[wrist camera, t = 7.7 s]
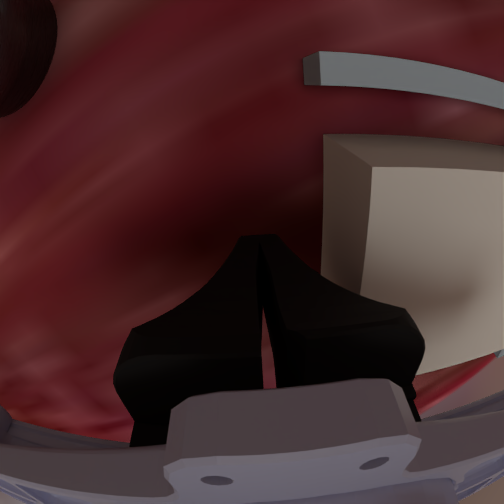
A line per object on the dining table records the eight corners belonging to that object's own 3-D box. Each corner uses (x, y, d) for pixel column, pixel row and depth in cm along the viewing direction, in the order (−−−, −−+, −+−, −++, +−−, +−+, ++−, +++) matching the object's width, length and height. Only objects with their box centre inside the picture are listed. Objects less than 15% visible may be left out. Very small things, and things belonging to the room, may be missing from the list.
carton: (479, 283, 15) (526, 340, 11) (317, 306, 15) (341, 389, 11) (509, 146, 11) (582, 182, 7) (321, 133, 11) (372, 167, 7)
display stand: (485, 323, 16) (507, 354, 14) (302, 356, 16) (311, 401, 14) (537, 100, 9) (579, 112, 7) (302, 58, 9) (323, 49, 7)
